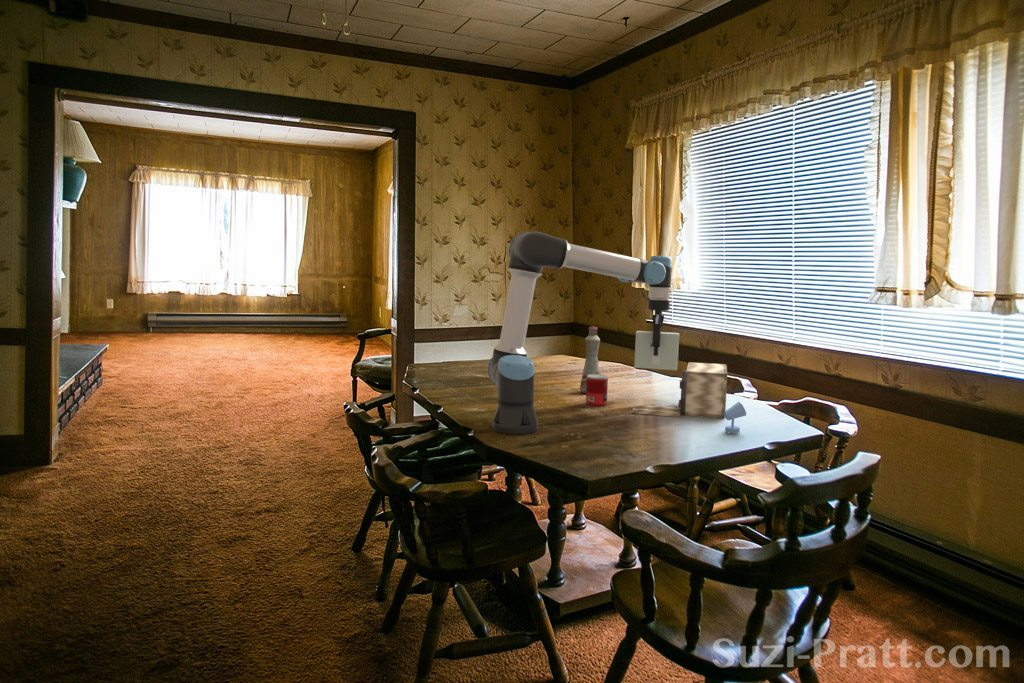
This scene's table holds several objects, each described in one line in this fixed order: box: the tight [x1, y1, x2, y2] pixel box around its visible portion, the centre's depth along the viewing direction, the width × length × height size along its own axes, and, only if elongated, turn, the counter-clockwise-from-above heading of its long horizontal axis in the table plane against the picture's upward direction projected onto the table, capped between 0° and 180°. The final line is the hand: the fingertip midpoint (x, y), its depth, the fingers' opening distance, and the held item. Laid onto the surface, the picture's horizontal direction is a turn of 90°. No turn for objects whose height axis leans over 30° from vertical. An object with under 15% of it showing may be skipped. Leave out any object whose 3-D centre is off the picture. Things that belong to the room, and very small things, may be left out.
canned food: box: [585, 374, 609, 407], centre depth 253 cm, size 8×8×11 cm
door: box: [633, 330, 681, 371], centre depth 239 cm, size 15×4×13 cm, turn 74°
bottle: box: [579, 325, 601, 395], centre depth 273 cm, size 9×9×28 cm
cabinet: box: [632, 361, 728, 419], centre depth 246 cm, size 32×25×16 cm
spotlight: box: [724, 401, 747, 434], centre depth 215 cm, size 5×10×7 cm
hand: (655, 363), depth 240 cm, fingers closed on door, 4 cm apart
